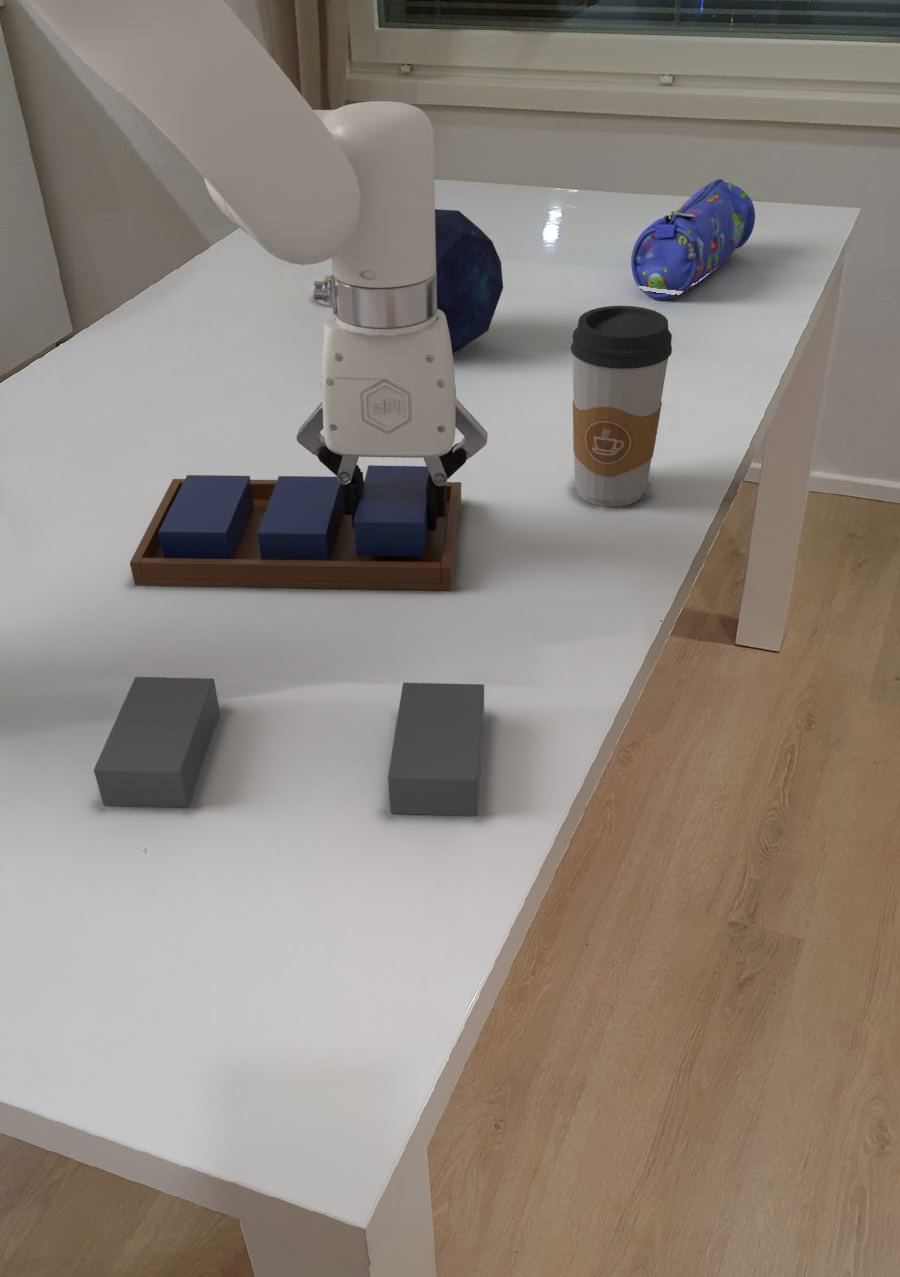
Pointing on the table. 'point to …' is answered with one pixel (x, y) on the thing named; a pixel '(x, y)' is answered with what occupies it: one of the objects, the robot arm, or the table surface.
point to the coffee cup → (617, 400)
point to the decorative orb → (465, 277)
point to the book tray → (301, 573)
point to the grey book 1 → (158, 742)
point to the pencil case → (692, 239)
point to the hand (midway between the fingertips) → (396, 520)
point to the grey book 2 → (437, 750)
